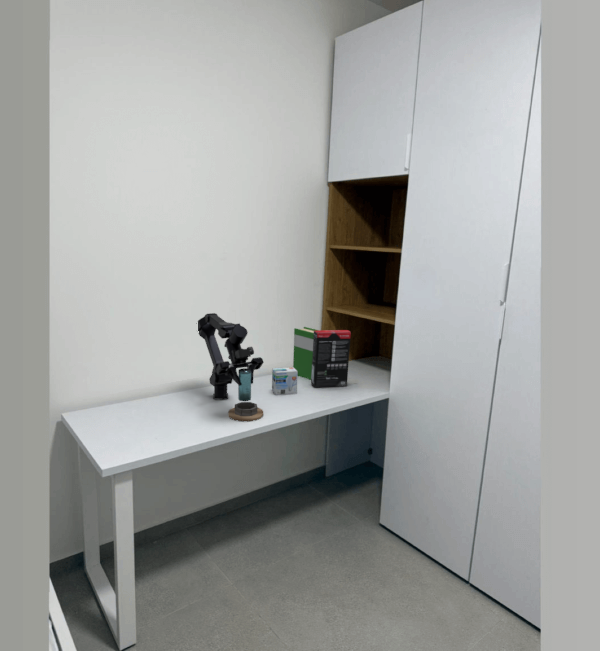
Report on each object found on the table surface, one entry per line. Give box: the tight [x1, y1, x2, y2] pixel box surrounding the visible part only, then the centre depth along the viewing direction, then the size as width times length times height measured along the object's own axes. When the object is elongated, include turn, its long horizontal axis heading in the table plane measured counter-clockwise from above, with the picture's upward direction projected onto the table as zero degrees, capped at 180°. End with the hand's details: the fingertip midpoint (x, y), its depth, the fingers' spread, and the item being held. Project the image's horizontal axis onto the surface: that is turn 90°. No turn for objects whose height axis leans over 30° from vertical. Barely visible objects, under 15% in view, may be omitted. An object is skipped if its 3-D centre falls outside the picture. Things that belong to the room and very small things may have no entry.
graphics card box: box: [310, 329, 352, 388], centre depth 240 cm, size 17×7×27 cm, turn 105°
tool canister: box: [237, 367, 252, 402], centre depth 199 cm, size 5×5×12 cm
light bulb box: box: [271, 366, 298, 396], centre depth 230 cm, size 11×7×11 cm, turn 108°
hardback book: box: [292, 326, 317, 381], centre depth 254 cm, size 18×7×24 cm, turn 42°
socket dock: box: [227, 401, 264, 422], centre depth 202 cm, size 14×14×4 cm
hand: (246, 384), depth 198 cm, fingers closed on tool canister, 5 cm apart
